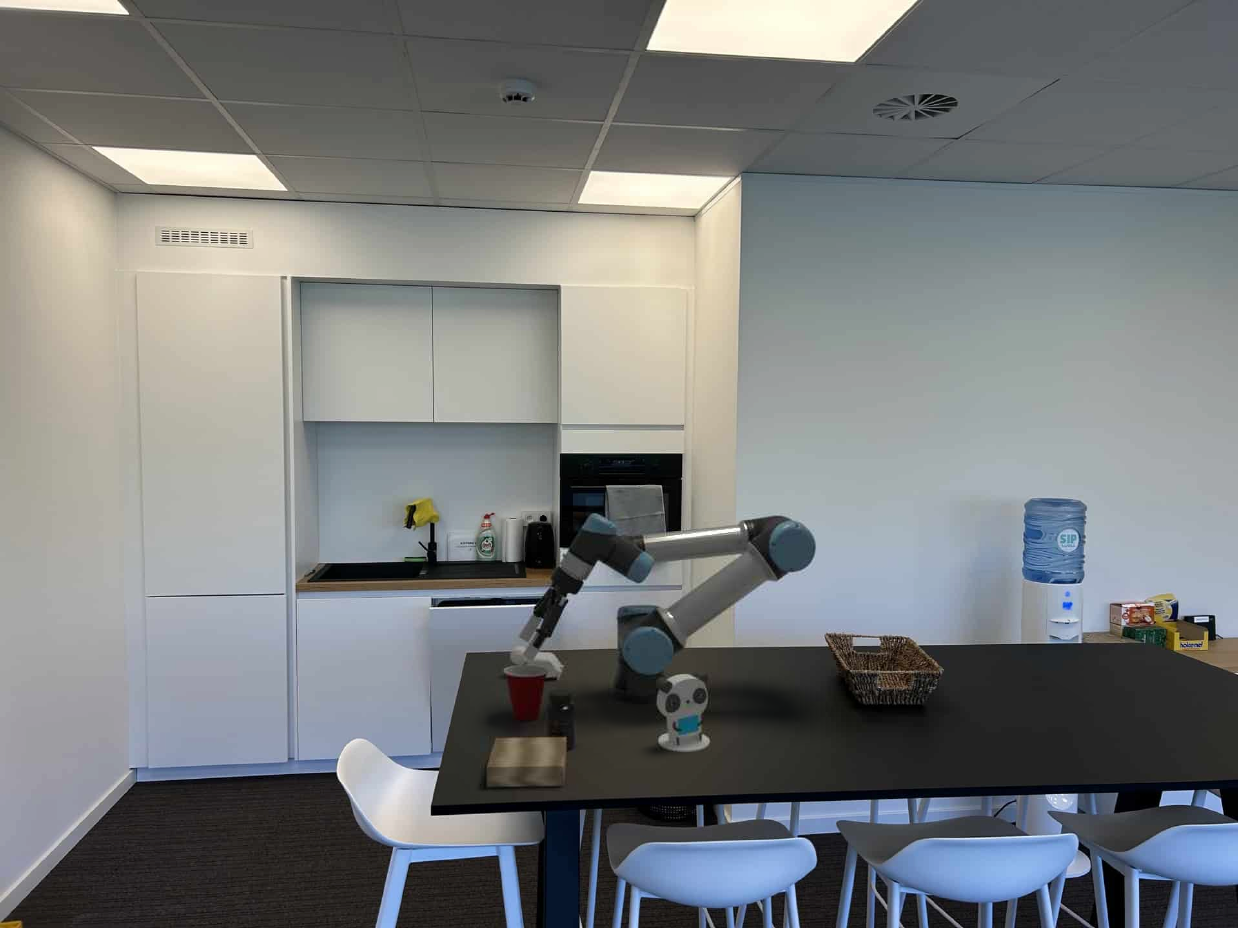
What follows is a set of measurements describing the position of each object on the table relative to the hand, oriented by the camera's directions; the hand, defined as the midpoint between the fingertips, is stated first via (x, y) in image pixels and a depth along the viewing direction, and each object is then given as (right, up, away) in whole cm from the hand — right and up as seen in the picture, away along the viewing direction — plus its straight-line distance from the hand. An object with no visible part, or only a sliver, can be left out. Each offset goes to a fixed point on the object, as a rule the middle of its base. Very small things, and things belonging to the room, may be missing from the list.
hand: (525, 648), depth 210 cm
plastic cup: (0, -17, 0) cm, 17 cm away
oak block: (+4, -19, -31) cm, 36 cm away
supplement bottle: (+10, -18, -18) cm, 27 cm away
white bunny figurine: (0, -15, +31) cm, 35 cm away
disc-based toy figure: (+37, -18, -16) cm, 44 cm away
